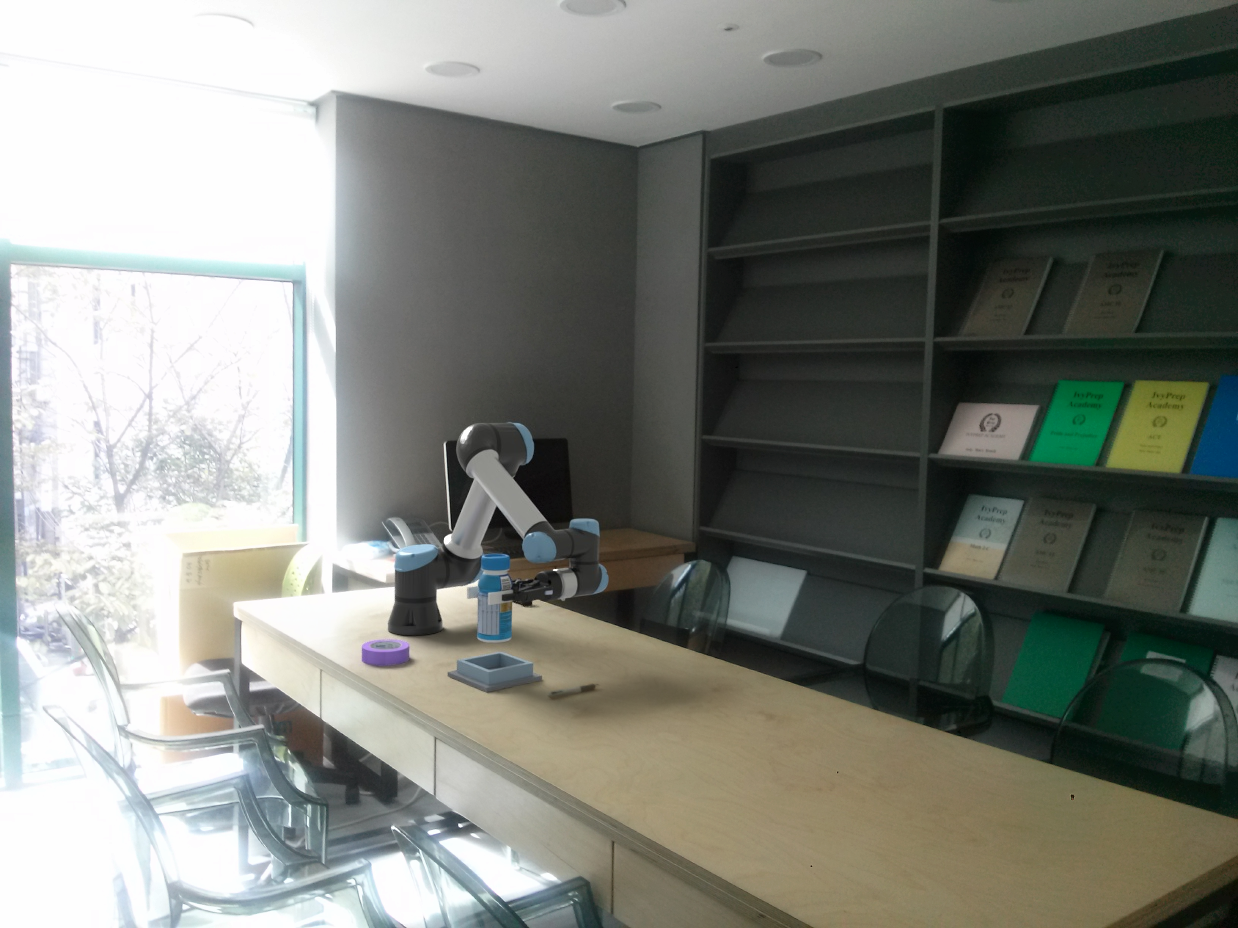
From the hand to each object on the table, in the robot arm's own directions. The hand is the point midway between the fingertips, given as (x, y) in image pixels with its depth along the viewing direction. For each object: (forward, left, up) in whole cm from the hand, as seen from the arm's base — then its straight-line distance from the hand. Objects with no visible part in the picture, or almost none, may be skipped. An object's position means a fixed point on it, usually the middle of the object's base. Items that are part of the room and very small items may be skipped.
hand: (478, 595), depth 237 cm
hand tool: (-67, +60, -21) cm, 92 cm away
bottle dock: (0, +5, -20) cm, 21 cm away
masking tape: (-30, -7, -21) cm, 37 cm away
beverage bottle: (0, +5, -11) cm, 12 cm away
